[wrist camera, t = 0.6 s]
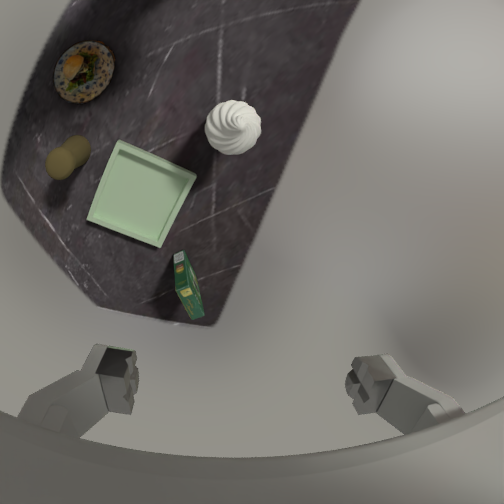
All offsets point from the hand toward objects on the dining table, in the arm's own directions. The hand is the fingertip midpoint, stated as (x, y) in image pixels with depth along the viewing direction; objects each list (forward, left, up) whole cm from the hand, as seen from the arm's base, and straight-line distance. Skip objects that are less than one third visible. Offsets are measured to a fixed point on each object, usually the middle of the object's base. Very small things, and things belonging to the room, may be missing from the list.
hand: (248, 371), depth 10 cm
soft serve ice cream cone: (-6, +5, -49) cm, 49 cm away
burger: (-4, -22, -49) cm, 54 cm away
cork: (+10, -17, -49) cm, 52 cm away
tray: (+13, -2, -48) cm, 50 cm away
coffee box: (+24, +13, -49) cm, 56 cm away
